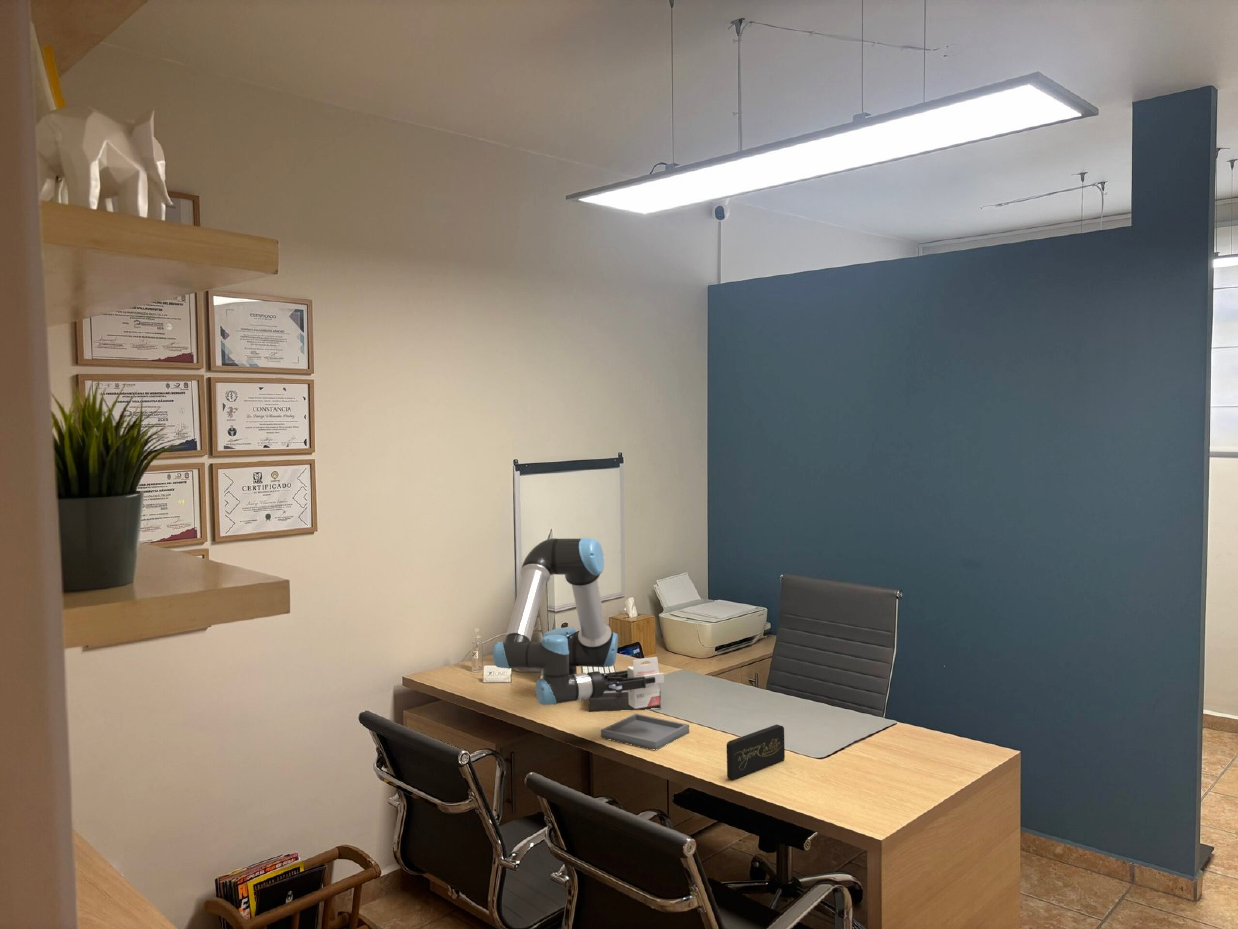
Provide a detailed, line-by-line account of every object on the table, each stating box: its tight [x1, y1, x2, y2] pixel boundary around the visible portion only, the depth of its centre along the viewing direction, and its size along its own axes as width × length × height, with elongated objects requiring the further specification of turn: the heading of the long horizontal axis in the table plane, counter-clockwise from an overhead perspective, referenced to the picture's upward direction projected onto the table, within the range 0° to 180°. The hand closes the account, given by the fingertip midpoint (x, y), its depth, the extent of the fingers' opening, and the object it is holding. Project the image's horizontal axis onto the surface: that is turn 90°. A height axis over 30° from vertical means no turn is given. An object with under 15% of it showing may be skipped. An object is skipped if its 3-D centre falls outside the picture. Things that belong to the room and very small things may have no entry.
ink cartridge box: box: [627, 656, 661, 709], centre depth 269 cm, size 9×5×15 cm, turn 112°
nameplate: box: [726, 723, 786, 781], centre depth 240 cm, size 21×2×10 cm, turn 129°
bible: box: [588, 684, 662, 713], centre depth 303 cm, size 23×27×10 cm
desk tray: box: [600, 713, 690, 751], centre depth 269 cm, size 18×20×2 cm
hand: (659, 675), depth 271 cm, fingers closed on ink cartridge box, 5 cm apart
